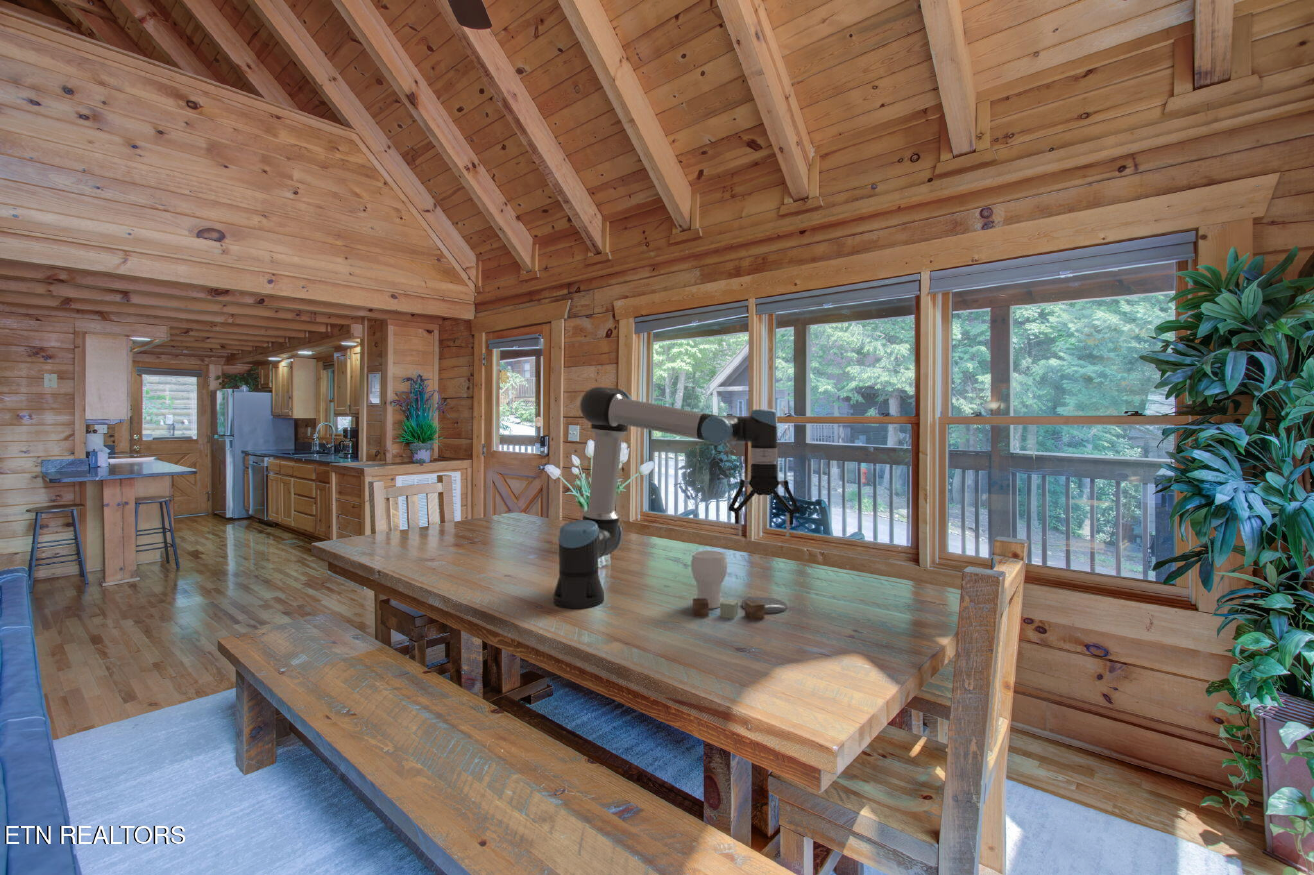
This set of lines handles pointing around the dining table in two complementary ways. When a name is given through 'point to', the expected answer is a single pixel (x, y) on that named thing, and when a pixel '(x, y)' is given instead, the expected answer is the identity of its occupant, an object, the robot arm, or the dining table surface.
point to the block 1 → (700, 607)
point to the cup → (709, 575)
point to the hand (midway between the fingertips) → (763, 536)
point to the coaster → (769, 604)
